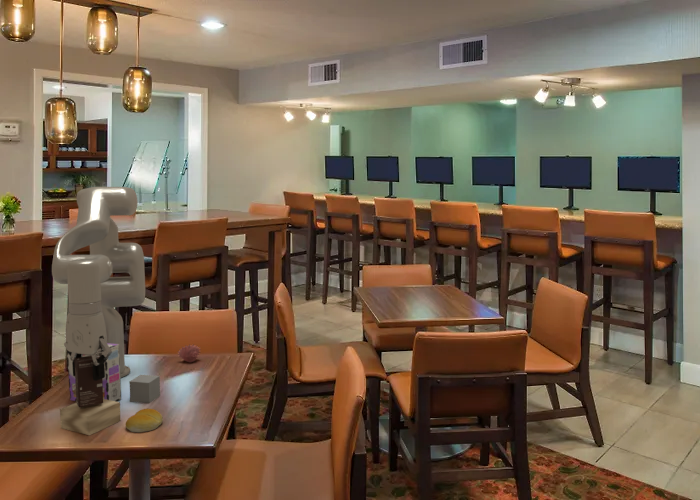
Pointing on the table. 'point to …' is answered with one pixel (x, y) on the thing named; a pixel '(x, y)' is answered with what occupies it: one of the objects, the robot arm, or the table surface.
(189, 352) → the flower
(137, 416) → the bread roll
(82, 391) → the box
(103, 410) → the base block
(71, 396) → the candy box
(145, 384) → the grey cube
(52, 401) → the table surface
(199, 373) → the table surface
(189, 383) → the table surface
